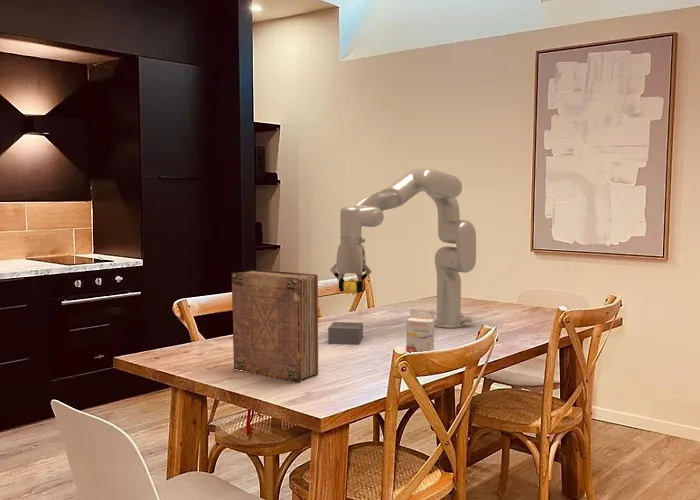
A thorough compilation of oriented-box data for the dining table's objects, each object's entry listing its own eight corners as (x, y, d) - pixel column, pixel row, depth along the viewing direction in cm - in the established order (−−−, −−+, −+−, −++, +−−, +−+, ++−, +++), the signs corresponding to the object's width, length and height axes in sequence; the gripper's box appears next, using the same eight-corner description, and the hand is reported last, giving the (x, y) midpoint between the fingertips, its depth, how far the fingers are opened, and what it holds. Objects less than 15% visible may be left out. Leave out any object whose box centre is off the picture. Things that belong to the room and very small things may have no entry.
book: (319, 375, 203) (318, 274, 200) (300, 382, 195) (299, 278, 192) (253, 363, 216) (252, 269, 214) (233, 370, 209) (231, 272, 206)
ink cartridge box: (405, 354, 227) (405, 310, 226) (409, 351, 232) (409, 308, 231) (431, 356, 225) (431, 312, 223) (434, 353, 229) (434, 309, 228)
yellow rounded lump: (348, 291, 252) (348, 277, 252) (362, 292, 249) (362, 278, 249) (338, 294, 245) (338, 279, 244) (352, 295, 242) (352, 280, 242)
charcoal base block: (363, 338, 253) (363, 322, 252) (359, 345, 242) (359, 328, 241) (333, 337, 254) (333, 321, 254) (328, 344, 243) (328, 327, 243)
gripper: (377, 241, 246) (376, 291, 248) (332, 240, 252) (332, 289, 254) (370, 243, 239) (370, 294, 241) (324, 241, 245) (324, 291, 246)
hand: (350, 291), depth 247 cm, fingers closed on yellow rounded lump, 5 cm apart
